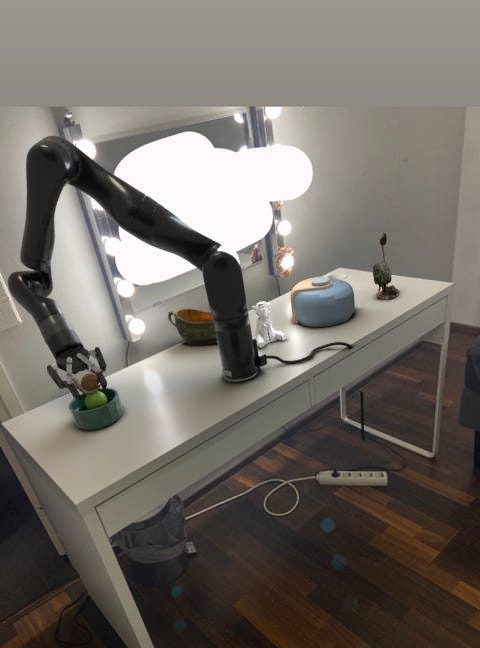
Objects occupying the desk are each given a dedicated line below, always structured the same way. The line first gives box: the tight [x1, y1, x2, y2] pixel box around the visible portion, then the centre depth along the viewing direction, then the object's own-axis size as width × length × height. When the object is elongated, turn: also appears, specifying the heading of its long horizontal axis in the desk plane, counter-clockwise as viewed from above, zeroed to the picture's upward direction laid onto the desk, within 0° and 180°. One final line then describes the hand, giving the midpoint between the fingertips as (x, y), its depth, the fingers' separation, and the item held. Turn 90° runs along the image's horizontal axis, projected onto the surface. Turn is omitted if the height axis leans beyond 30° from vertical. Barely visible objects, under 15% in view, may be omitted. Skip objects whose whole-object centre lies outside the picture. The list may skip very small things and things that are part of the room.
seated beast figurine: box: [250, 301, 287, 349], centre depth 148 cm, size 10×9×12 cm
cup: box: [167, 308, 218, 346], centre depth 158 cm, size 13×20×10 cm, turn 41°
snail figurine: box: [70, 372, 107, 410], centre depth 122 cm, size 5×6×12 cm
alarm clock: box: [289, 275, 356, 328], centre depth 157 cm, size 19×20×12 cm
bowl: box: [68, 387, 124, 431], centre depth 124 cm, size 12×12×6 cm
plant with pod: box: [371, 232, 400, 300], centre depth 161 cm, size 8×11×20 cm
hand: (92, 392), depth 120 cm, fingers closed on snail figurine, 6 cm apart
